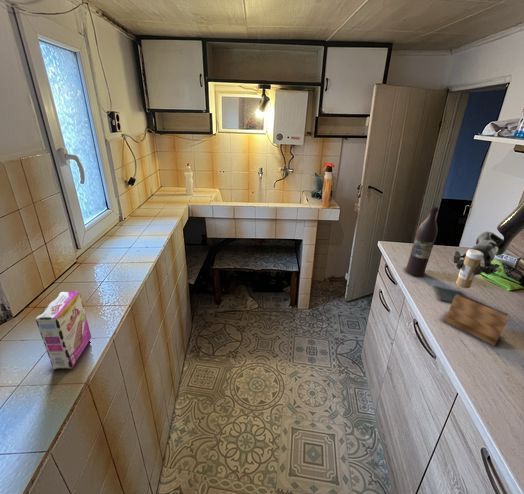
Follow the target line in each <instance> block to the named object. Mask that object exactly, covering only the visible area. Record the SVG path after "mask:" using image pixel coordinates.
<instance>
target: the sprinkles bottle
mask: <svg viewBox="0 0 524 494" xmlns="http://www.w3.org/2000/svg"><path fill="white" fill-rule="evenodd" d="M483 255H484V254H483V253H482V252H480V251H478V250H473V249H472V248H469V249H468V250H466V258H465V260H464V262H463V265H462V267H461V269H459V270H460V271H459V273H458V277H457V279H456V281H455V284H456V285H457V286H458V287H460V288H463V289H470V288H471V287H472V283H473V281H474V279H475V277H476V275H474V273H475V270H476V269H477V268H478V266H479V263H480V261H481V259H482V258H483Z"/></svg>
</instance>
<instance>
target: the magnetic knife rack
mask: <svg viewBox="0 0 524 494" xmlns="http://www.w3.org/2000/svg"><path fill="white" fill-rule="evenodd" d="M461 294H462V293H461ZM461 294H459V295H456V296H455V297H454V299H453V302H452V303H451V304H450V306H449V309H448V312H447V315H446V316H445V317H444V319H443V322H444V323H446V324H448V325H450V326H453V327H455V328H457V329H459V330H461V331H463V332H465V333H467V334H469V335H471V336H474V337H475V338H477V339H479V340H482V341H483V342H486V343H487V344H490V345H492V346H496V344H497V342H498V341H499V338H500V336H501V334H502V332H503V331H504V329H505V326H506V324H507V323H508V321H509V319H510V316H509V314H508V313H506V312H503V311H501V310H499V309H496V308H494V307H491V306H490V305H487V304H484V303H482V302H479V301H478V300H475V299H473V298H470V297H468V296H466V295H463V294H462V295H461Z"/></svg>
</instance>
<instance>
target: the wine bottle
mask: <svg viewBox="0 0 524 494" xmlns="http://www.w3.org/2000/svg"><path fill="white" fill-rule="evenodd" d="M438 212H439V206H438V205H437V206H435V205H431V206H430V207H429V213H428V216H427V217H426V218H425V219H424V220H423V221H422V222H421V223H420V224H419V226H418V228H417V231H416V234H415V237H414V240H413V244H412V247H411V250H410V254H409V257H408V261H407V263H406V267H405V271H406V273H408V274H409V275H411V276H415V277H423V276H424V274H425V272H426V268H427V266H428V263H429V259H430V257H431V255H432V254H431V253H432V251H433V248H434V245H435V242H436V239H437V235H438V230H439V229H438V223H437V220H436V218H437V214H438Z"/></svg>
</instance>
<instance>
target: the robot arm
mask: <svg viewBox="0 0 524 494" xmlns="http://www.w3.org/2000/svg"><path fill="white" fill-rule="evenodd" d="M496 230H497V232H499V234H501V236H502V237H503V238H502V237H501V236H500V235H498V234H496V233H495V232H493V231H490V230H485V231H483V232H481V233H480V234H479V235H478V236H477V238H476V241H475V245H474V246H472V247H471V249H473V250H478V251H480V252H482V253H483V254H484V255H483V258H482V259H481V261H480V263H479V266H478V268H477V269H476V270H475V273H474V275H475V276H480V275H481V274H483V273H484V274H485V275H491V274H494V273H497V272H498V270H499V269H500V266H501V265H500V264H499V263H492V262H493V261H494V260H495V258H496V256H501V255H503V254H505V252H507V250H508V248H509V247H510V245H511V243H512V242H513V241H514V239H515V238H516V237H517V236H519V234H520V233H522V231H524V198H523V199H522V200H521V201H520V203H519V204H518V205H517V206H516V207H515V208H514V209H513V210H512V211H511V212H510V213H509V214H508V215H507V216H505V218H504V219H503V220H502V221H501V222H499V223H498V224H497V226H496ZM466 253H467V252H466ZM466 253H463V254H462V253H460V251H458V250H455V251H454V255H453V263H454V264H456V266H455V267H456V269H457V270H461V267H462V265H463V262H464V260H465V258H466Z"/></svg>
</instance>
